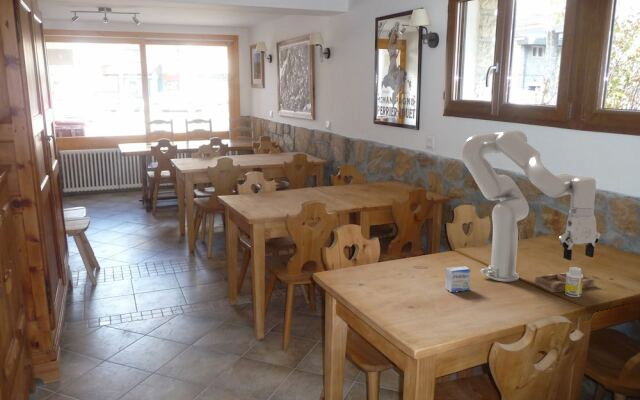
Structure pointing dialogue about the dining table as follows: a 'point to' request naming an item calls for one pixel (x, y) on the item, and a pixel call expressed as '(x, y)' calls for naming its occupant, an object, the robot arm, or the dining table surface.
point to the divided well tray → (559, 282)
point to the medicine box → (457, 278)
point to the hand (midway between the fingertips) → (578, 257)
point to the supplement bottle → (574, 282)
